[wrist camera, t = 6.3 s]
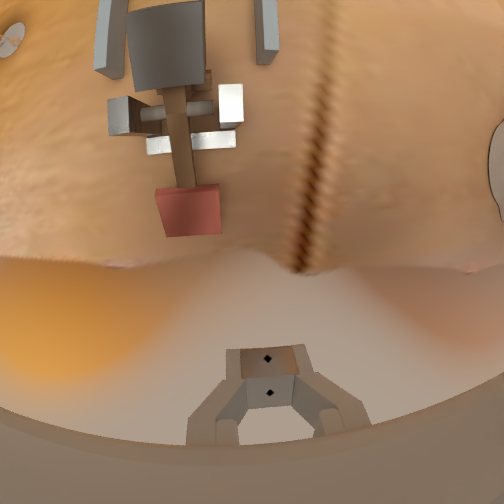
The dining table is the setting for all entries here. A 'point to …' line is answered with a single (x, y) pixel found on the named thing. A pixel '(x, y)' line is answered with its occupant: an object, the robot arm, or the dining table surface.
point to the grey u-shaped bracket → (114, 30)
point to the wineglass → (11, 39)
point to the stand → (129, 124)
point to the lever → (176, 105)
